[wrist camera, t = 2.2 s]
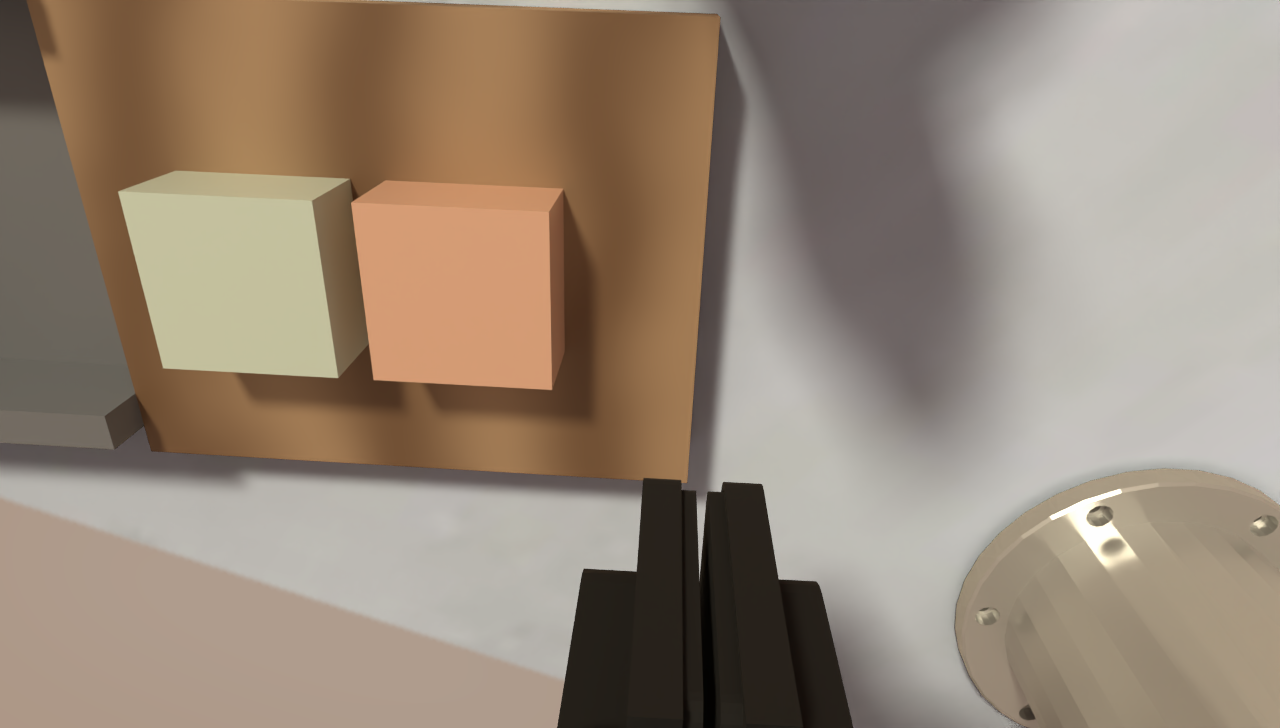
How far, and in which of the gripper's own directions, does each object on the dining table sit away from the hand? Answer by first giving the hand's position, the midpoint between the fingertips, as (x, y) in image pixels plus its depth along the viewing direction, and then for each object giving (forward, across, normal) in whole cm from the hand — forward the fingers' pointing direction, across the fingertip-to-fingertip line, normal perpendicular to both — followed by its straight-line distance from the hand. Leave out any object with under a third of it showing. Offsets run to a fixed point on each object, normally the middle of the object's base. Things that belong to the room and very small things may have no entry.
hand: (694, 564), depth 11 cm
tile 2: (+13, +6, 0) cm, 14 cm away
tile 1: (+13, +12, 0) cm, 18 cm away
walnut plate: (+15, +8, 0) cm, 18 cm away
